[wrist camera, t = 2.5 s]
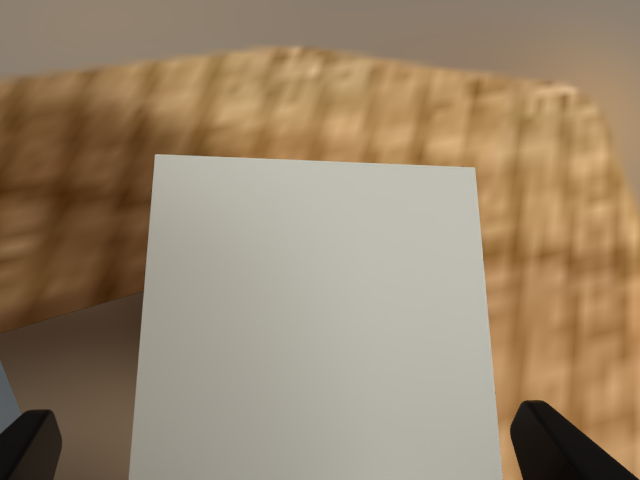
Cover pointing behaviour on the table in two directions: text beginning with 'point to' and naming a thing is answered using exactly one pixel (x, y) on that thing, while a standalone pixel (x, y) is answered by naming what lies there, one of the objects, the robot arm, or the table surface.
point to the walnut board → (82, 383)
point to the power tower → (314, 324)
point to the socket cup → (7, 402)
